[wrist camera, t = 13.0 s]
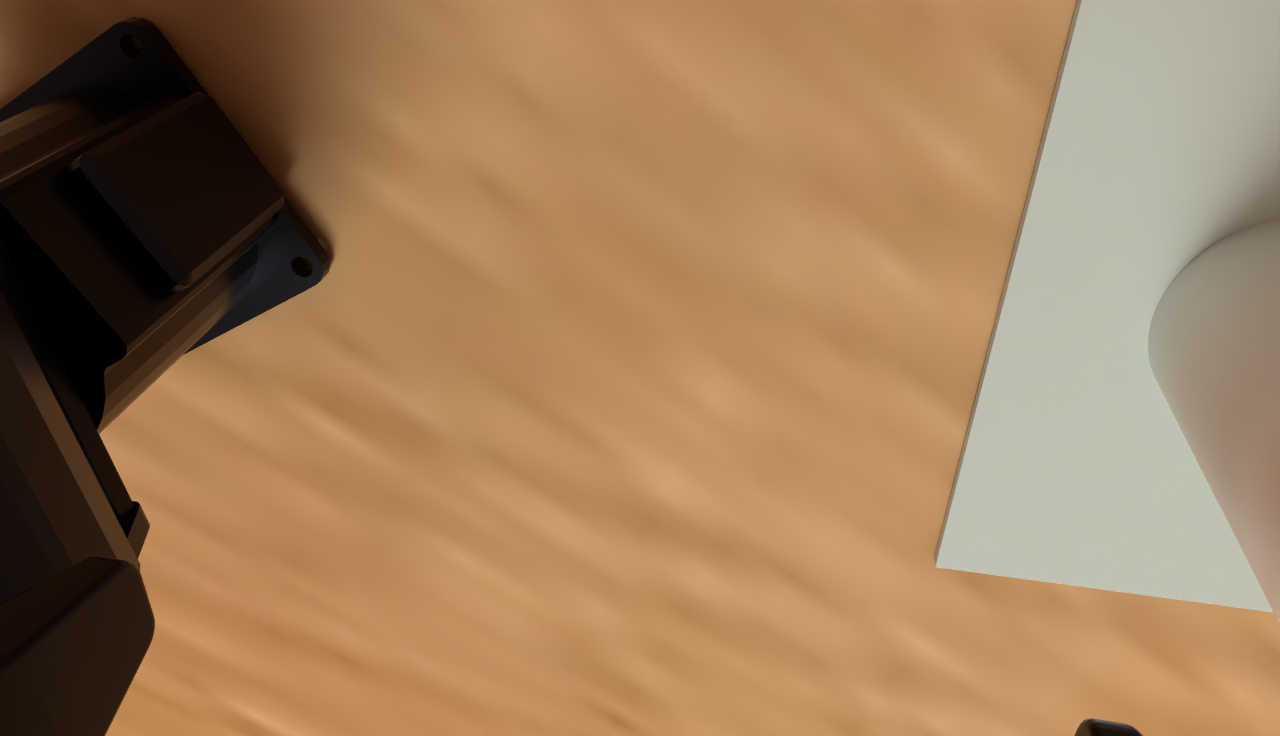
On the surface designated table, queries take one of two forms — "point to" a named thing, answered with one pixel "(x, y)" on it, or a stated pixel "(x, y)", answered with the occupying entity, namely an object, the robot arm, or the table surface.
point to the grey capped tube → (1230, 382)
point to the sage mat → (1118, 307)
